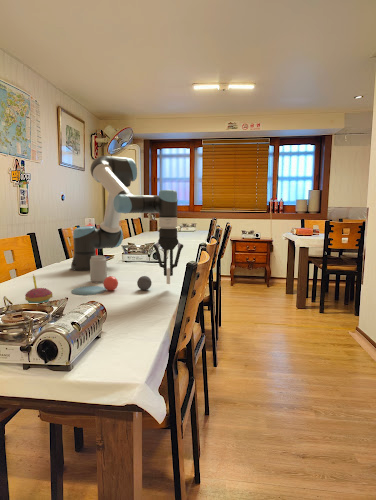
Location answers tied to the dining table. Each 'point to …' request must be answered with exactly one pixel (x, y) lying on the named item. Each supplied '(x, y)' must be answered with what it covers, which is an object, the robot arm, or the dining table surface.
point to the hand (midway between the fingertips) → (168, 283)
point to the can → (98, 269)
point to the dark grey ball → (144, 283)
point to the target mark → (88, 290)
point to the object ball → (110, 283)
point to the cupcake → (38, 294)
